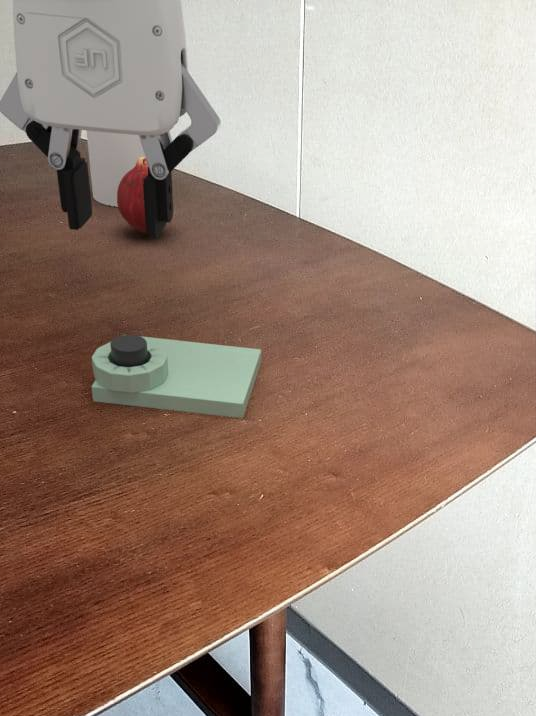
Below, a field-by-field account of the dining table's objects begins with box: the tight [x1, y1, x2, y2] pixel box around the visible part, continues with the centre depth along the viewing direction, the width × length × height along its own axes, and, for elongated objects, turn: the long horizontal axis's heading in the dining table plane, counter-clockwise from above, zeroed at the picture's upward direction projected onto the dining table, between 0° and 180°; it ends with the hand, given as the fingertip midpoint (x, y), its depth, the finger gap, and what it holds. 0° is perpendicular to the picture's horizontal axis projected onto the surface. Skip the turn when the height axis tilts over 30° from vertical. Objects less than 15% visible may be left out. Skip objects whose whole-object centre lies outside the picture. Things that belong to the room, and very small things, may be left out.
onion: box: [117, 156, 149, 235], centre depth 93 cm, size 6×6×8 cm
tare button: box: [109, 334, 148, 367], centre depth 68 cm, size 3×3×2 cm
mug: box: [85, 130, 146, 208], centre depth 102 cm, size 12×8×10 cm, turn 13°
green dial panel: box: [90, 335, 262, 419], centre depth 70 cm, size 12×9×3 cm
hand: (118, 224), depth 61 cm, fingers open, 4 cm apart
